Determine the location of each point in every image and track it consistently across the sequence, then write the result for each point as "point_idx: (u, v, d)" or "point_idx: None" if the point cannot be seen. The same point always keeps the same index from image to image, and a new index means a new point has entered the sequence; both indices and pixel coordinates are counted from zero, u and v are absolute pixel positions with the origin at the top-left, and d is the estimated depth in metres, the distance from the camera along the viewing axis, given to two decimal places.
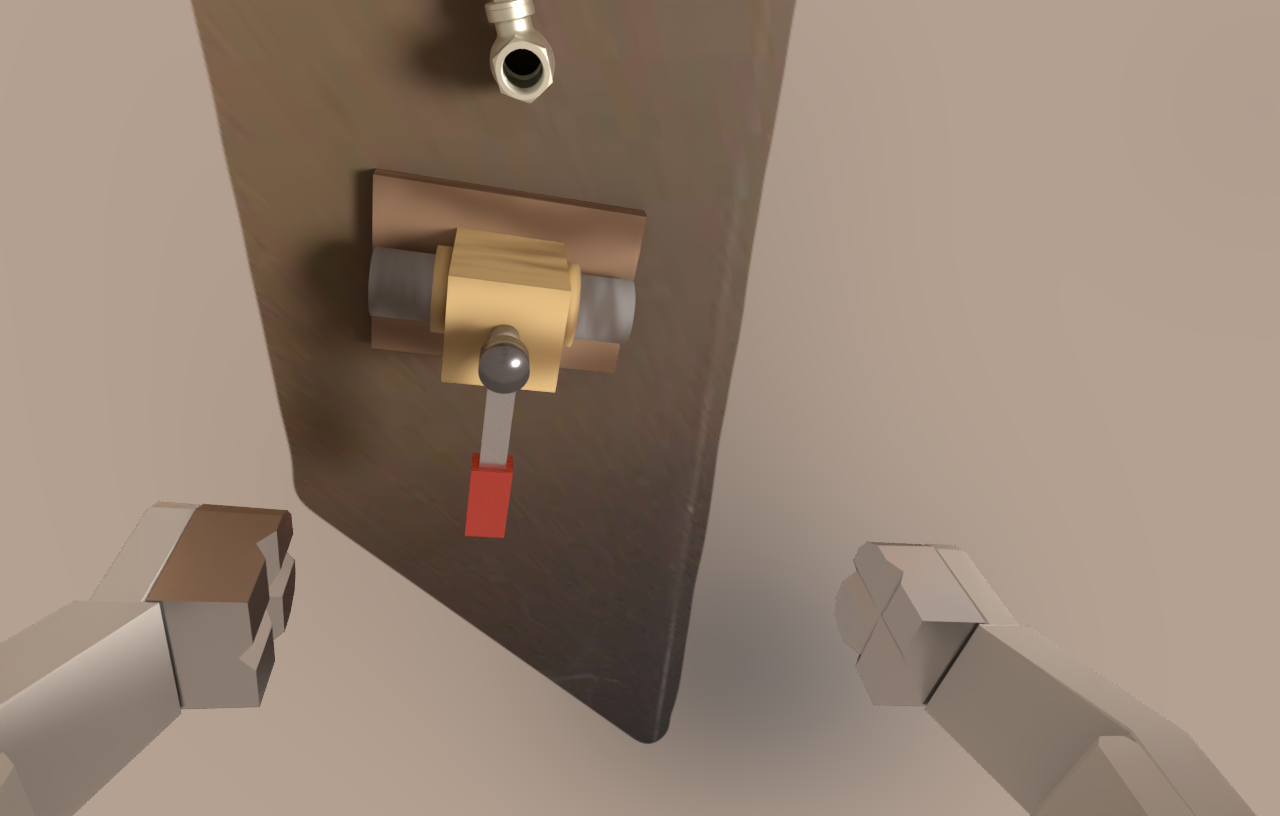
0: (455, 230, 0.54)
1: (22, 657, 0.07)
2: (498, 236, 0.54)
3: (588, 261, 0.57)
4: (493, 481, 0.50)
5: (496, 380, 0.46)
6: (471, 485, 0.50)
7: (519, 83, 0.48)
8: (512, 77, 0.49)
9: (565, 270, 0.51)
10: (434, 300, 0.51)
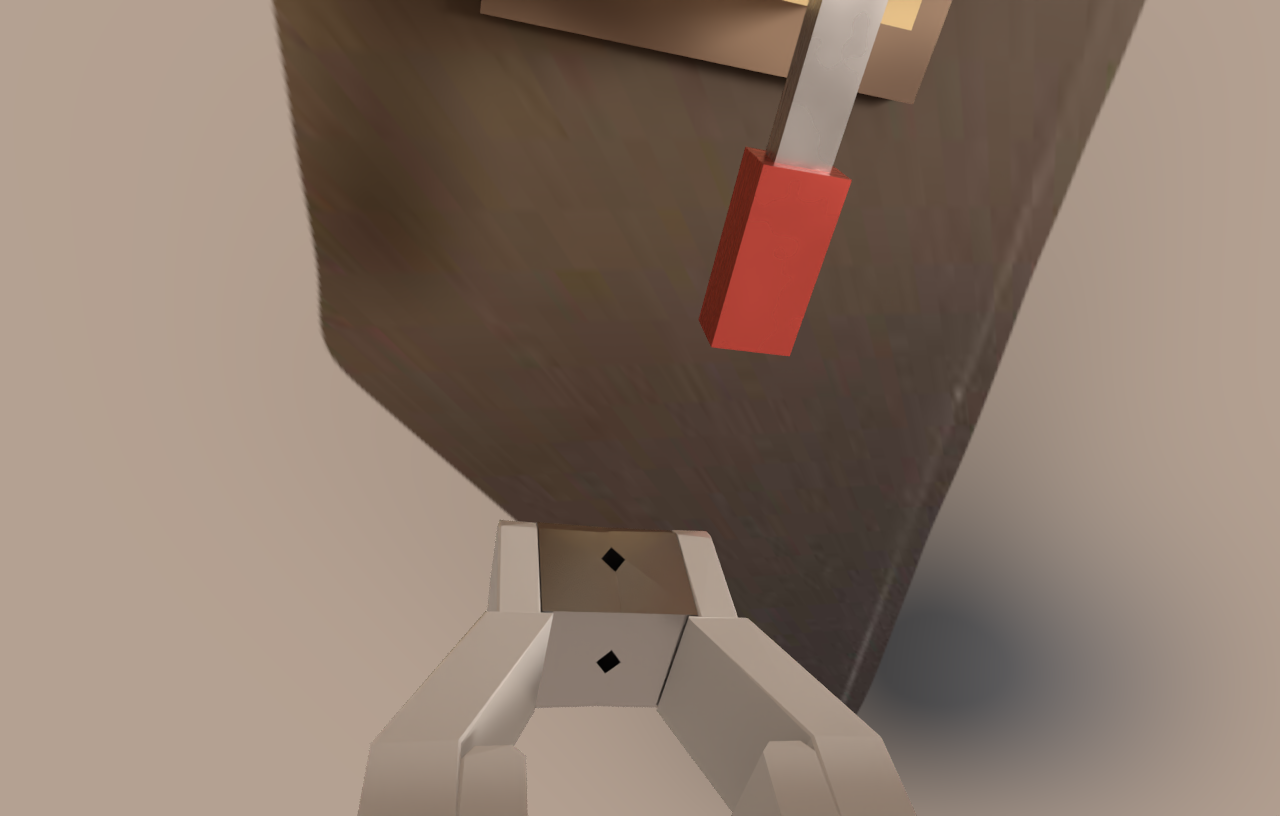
0: None
1: (477, 661, 0.07)
2: None
3: None
4: (804, 200, 0.22)
5: None
6: (754, 209, 0.22)
7: None
8: None
9: None
10: None
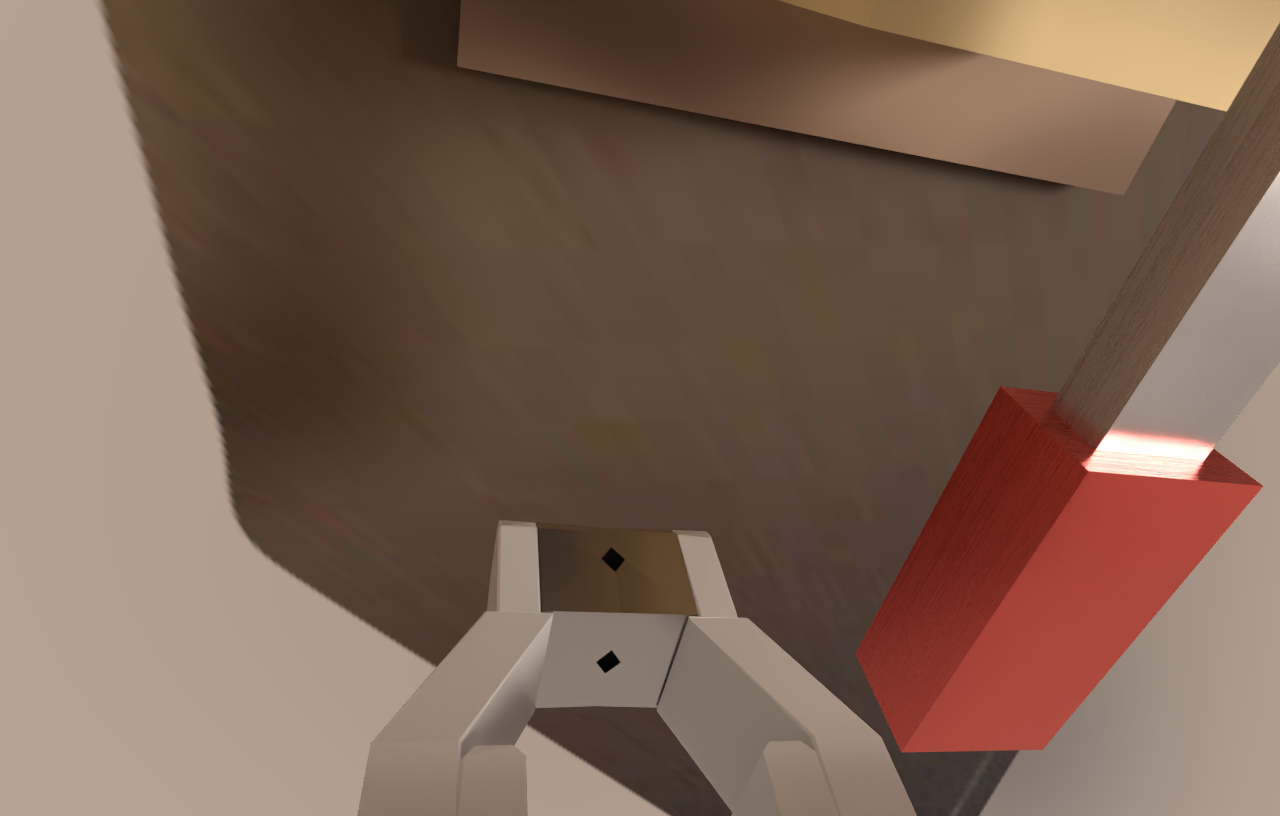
0: None
1: (477, 661, 0.07)
2: None
3: None
4: (1153, 526, 0.10)
5: None
6: (1044, 547, 0.10)
7: None
8: None
9: None
10: None
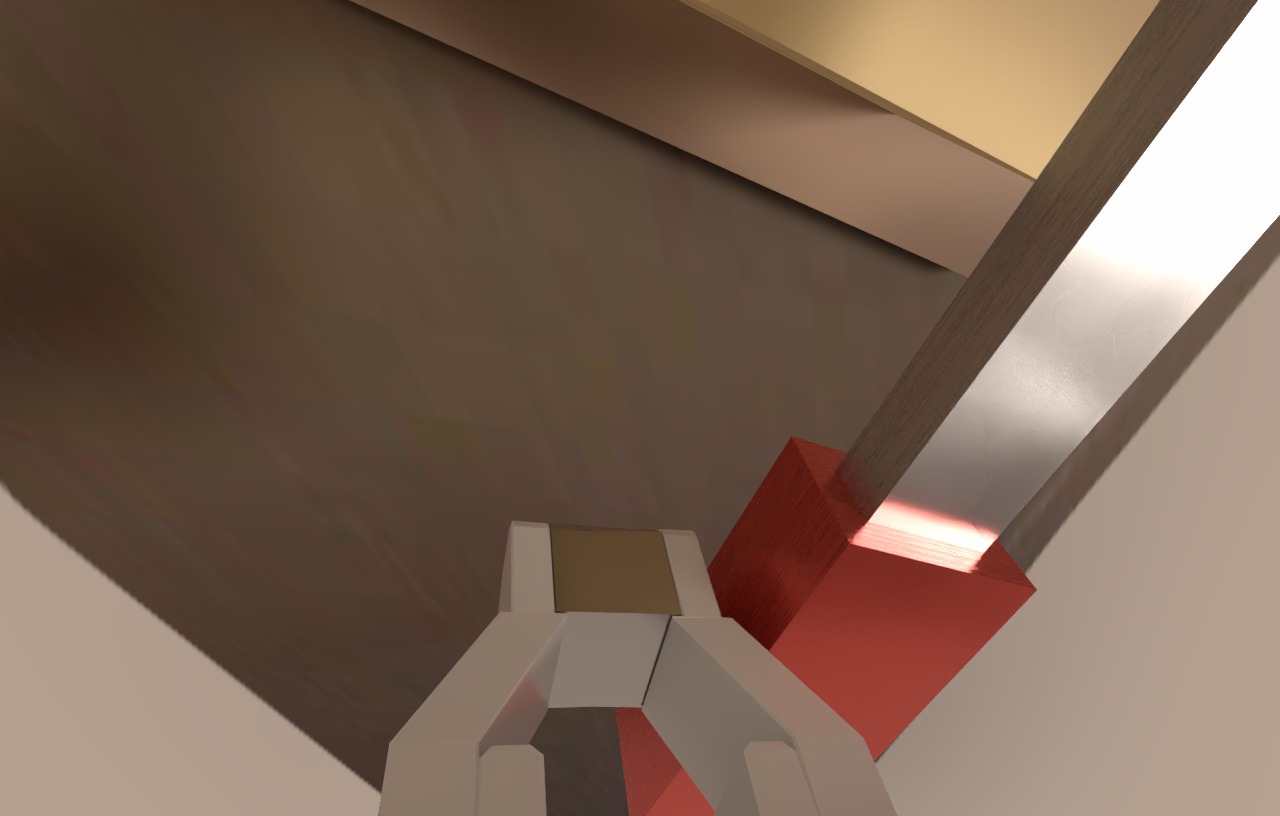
0: None
1: (493, 661, 0.07)
2: None
3: None
4: (919, 617, 0.09)
5: None
6: (797, 623, 0.09)
7: None
8: None
9: None
10: None
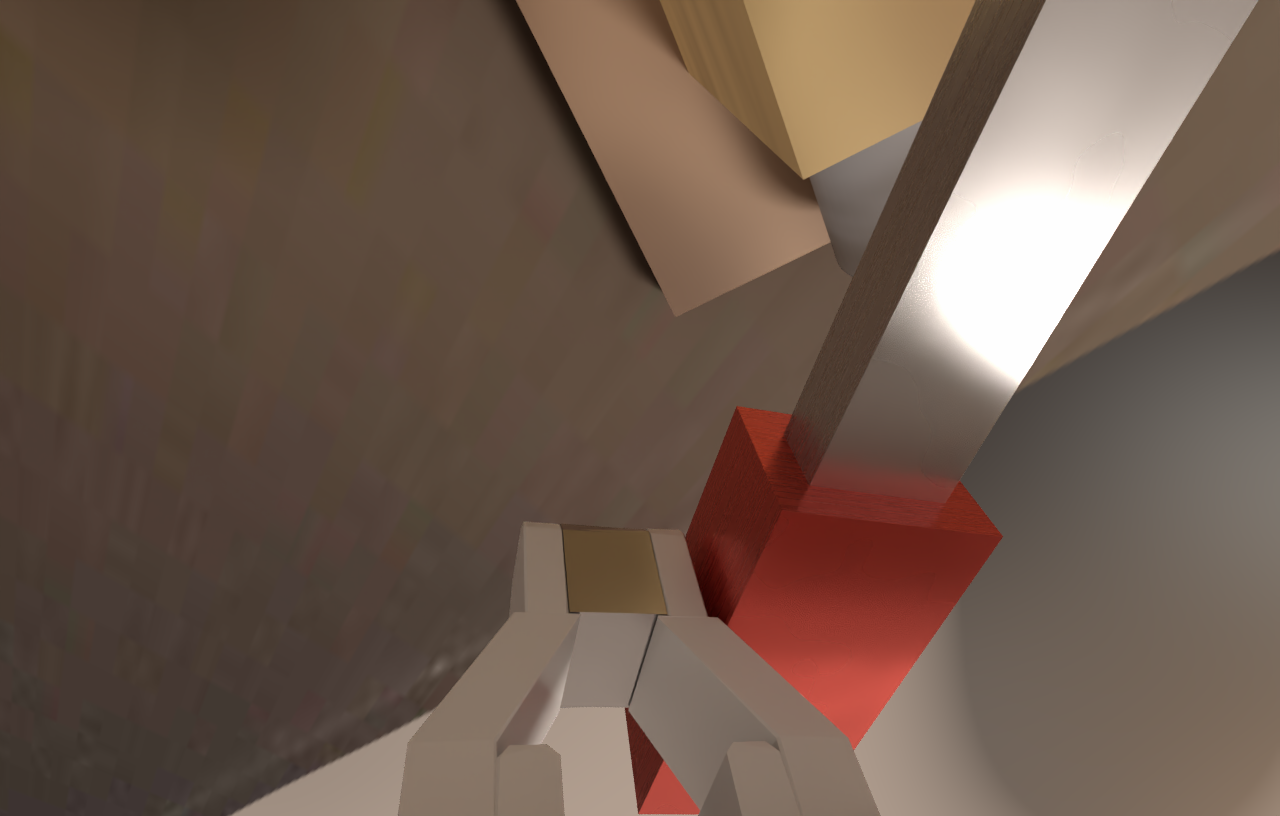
0: None
1: (508, 662, 0.07)
2: None
3: None
4: (879, 577, 0.08)
5: None
6: (750, 595, 0.08)
7: None
8: None
9: None
10: None
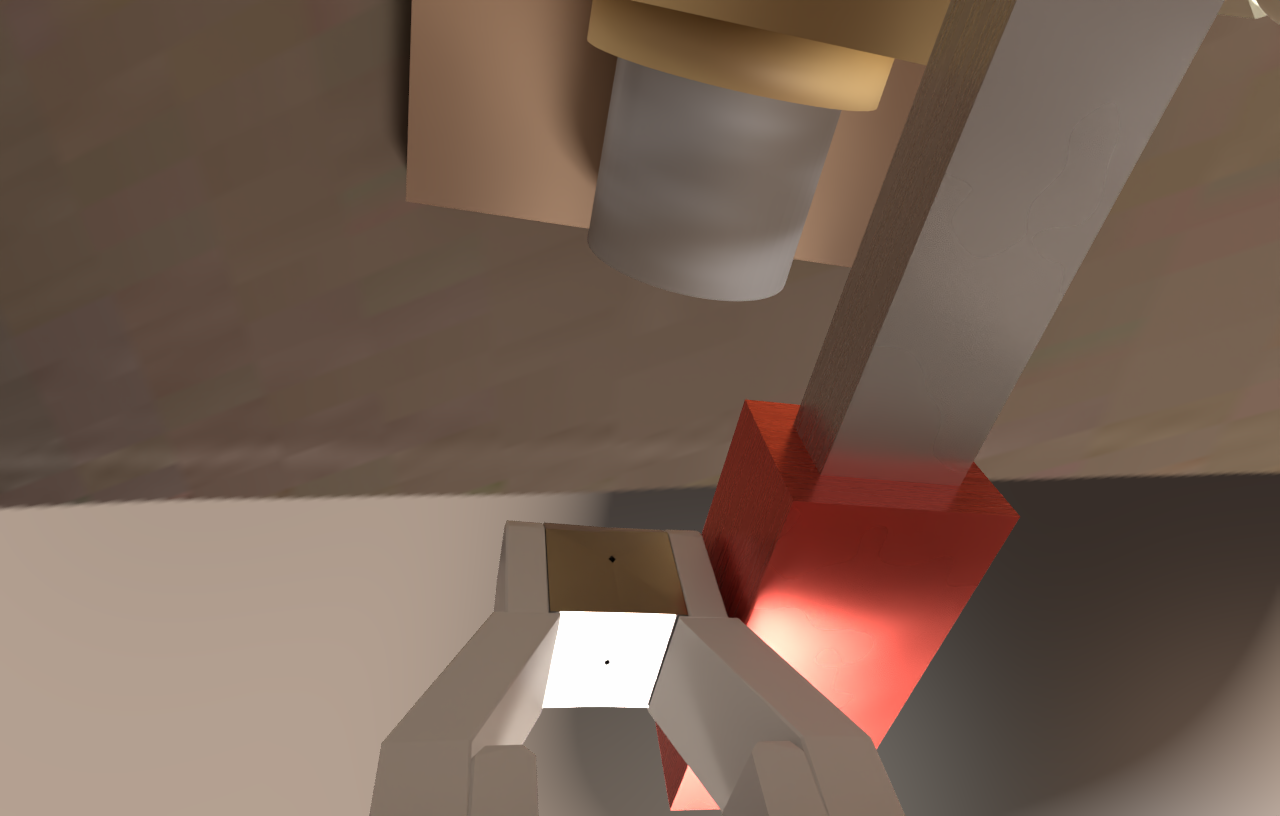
0: None
1: (486, 661, 0.07)
2: None
3: None
4: (896, 563, 0.08)
5: None
6: (767, 588, 0.08)
7: None
8: None
9: None
10: None
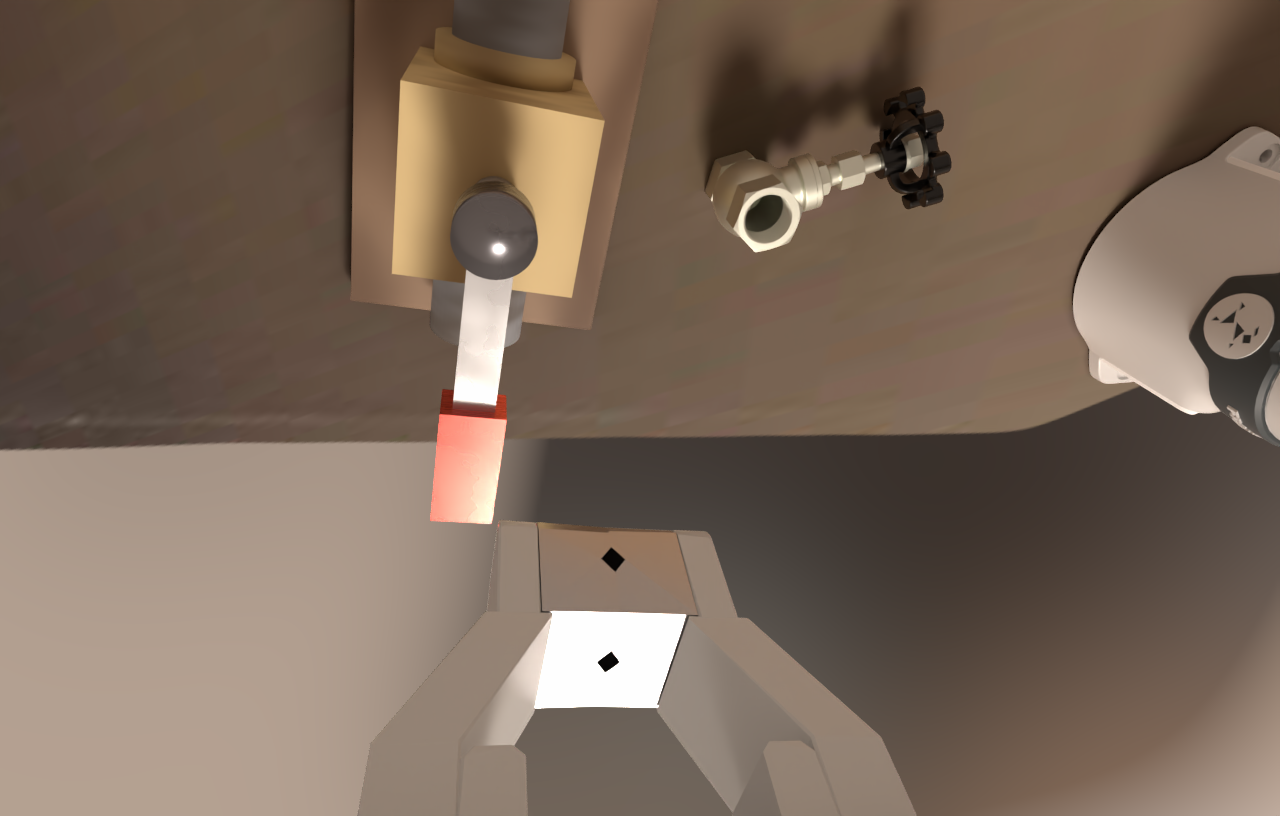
0: (578, 77, 0.37)
1: (477, 661, 0.07)
2: None
3: None
4: (475, 433, 0.32)
5: (481, 254, 0.27)
6: (440, 439, 0.31)
7: None
8: None
9: None
10: (520, 63, 0.31)
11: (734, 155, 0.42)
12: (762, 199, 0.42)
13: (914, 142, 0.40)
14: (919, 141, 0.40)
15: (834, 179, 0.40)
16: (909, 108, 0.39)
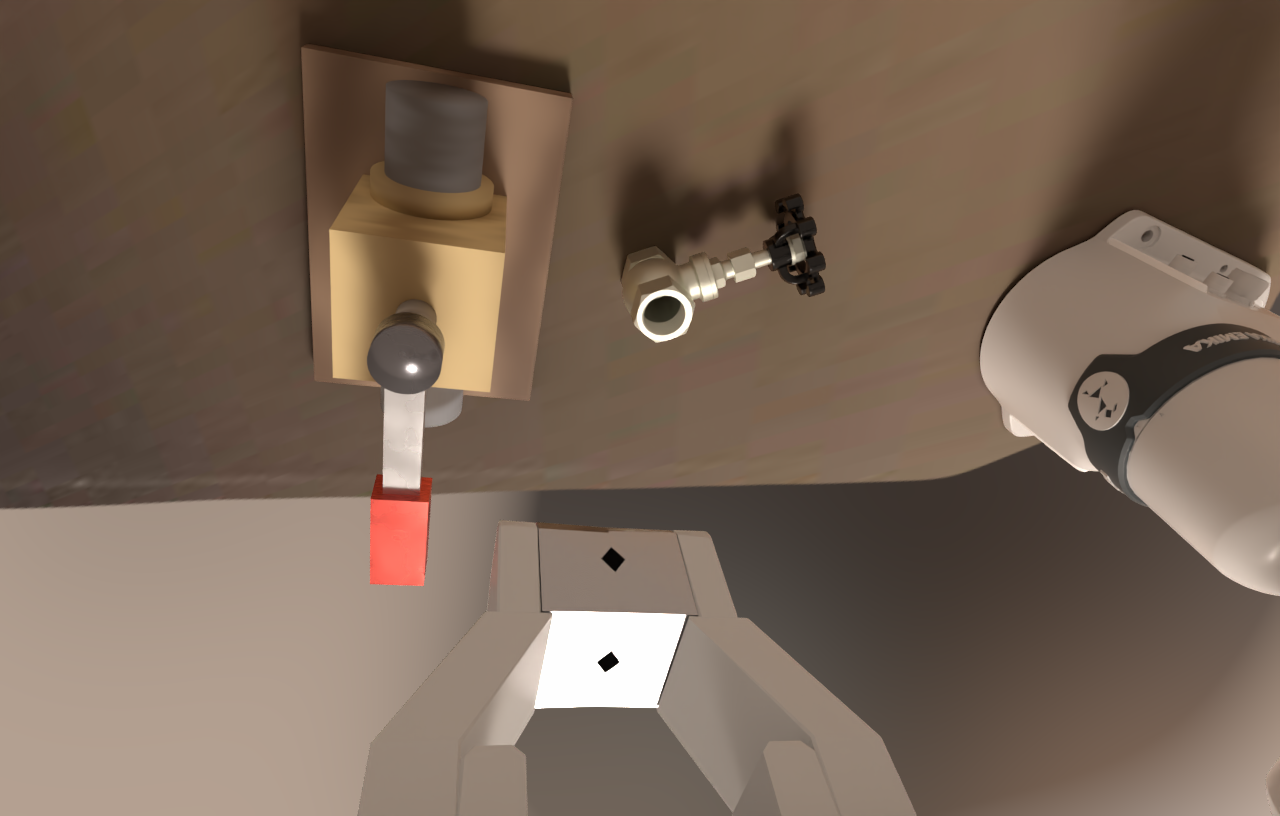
0: (503, 193, 0.43)
1: (477, 661, 0.07)
2: None
3: None
4: (402, 513, 0.37)
5: (394, 375, 0.33)
6: (372, 518, 0.37)
7: None
8: None
9: None
10: (438, 200, 0.37)
11: (644, 251, 0.47)
12: None
13: (798, 240, 0.45)
14: None
15: (728, 274, 0.45)
16: (792, 211, 0.44)
